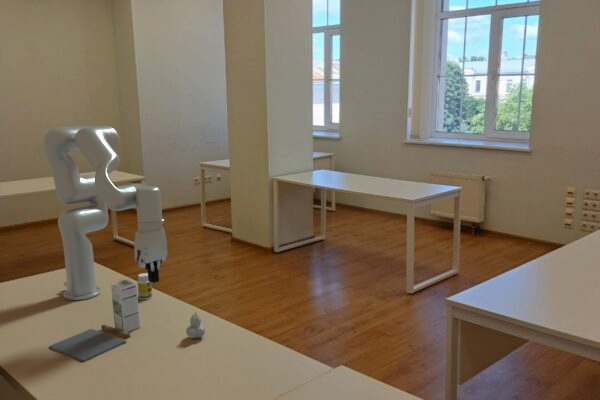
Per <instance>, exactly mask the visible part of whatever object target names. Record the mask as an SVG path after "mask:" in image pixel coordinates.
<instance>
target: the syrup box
mask: <svg viewBox="0 0 600 400" xmlns="http://www.w3.org/2000/svg"><path fill="white" fill-rule="evenodd" d="M110 289H111V299H112V309H113V310H112V311H113V312H112V313H113V320H114V328H116V329H119V330H122V331H125V332H128V333H130V332H132V331H135V330H137V329H140V328H141V324H140V323H141V322H140V311H139V310H140V309H139V301H138V300H139V297H138V284H137V283H136V282H134V281H131V280H129V279H123V280H119V281H116V282H113V283H111V284H110Z"/></svg>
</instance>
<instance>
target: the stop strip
mask: <svg viewBox="0 0 600 400" xmlns="http://www.w3.org/2000/svg"><path fill="white" fill-rule="evenodd" d="M101 330H103V331H106V332H109V333H111V334H114V335H117V336H120V337H123V338H126V339H129V338H131V333H130V332H125V331H122V330H119V329H116V328H115V327H113V326H109V325H107V324H102V325H101Z"/></svg>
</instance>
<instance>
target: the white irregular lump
mask: <svg viewBox="0 0 600 400" xmlns="http://www.w3.org/2000/svg"><path fill="white" fill-rule="evenodd" d="M189 321H190V322H189V324H190V325H188V326H187V328H186V329H185V332H186V335H187V336H189V338H190V339H200V338H202V337H203V336H205V332H206V328H205V327H204V324H202V318H201V317H200V316H199V315H198V314H197V311H195V312H194V314H192V315H191V317H190V319H189Z"/></svg>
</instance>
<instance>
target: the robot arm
mask: <svg viewBox="0 0 600 400" xmlns="http://www.w3.org/2000/svg"><path fill="white" fill-rule="evenodd" d="M42 145H43V150H44V154H45V157H46V159H47V161H48V163H49V166H50V168H51V174H52V178H53V184H54V187H55V192H56V193H55V194H56V197H57V199H58V201H59V203H61V205H65V206H71V205H77V204H83V203H85V204H86V205H85V206H79V207H73V208H68V209H66V210H64V211H63V212H61V213H60V214H59V216H58V218H57V225H58V229H59V232H60V236H61V239H62V246H63V247H62V248H63V254H64V264H65V275H66V277H65V278H66V281H64V283H63V286H65V287H66V290H65V291H64V292H63V293H62V294H63V298H64V299H66V300H69V301H70V300H71V301H80V300H81V301H82V300H88V299H91V298H94V297H97V296H98V295H100V294H101V291H102V288H101V287H99V286H97V283H96V282H97V281H96V273H95V262H94V261H95V259H94V250H93V247H94V246H93V245H92V242H91V241H90V239H89V238H88V236H87V235H86V234H89V233H93V232H96V231H100V230H103V229H105V228H106V227H107V225H108V224H109V211H108V209H110V210H112V211H115V212H120V211H125V210H129V209H135V208H136V217H137V231H136V232H135V235H134V236H135V237H134V252H133V253H134V261H135V262H136V263H138V264H137V267H138V268H141V269H145V271H147V273H148V281H149V282H151V283H153V284H156V283H159V282H160V274H159V273H160V272H159V270H160V269H161V265H162V263H163V262H165V261H166V260H167V257H168V243H167V241H168V240H167V236H166V232H165V228H164V227H163V224H164V223H165V219H163V211H162V209H163V208H162V197H161V195H162V193H161V189H160V188H159V187H158V186H153V185H152V186H151V185H146V184H143V183H131V184H124V185H119V186H115V184H114V183H112V181H111V180H110V178H109V176H108V175H110V174H111V173H112V172H114V171H115V170H116V169H117V168H118V166H119V165H120V161H121V159H120V157H119V155H118V154H117V153H116V151H115V150H116V149H117V148H118V146H119V145H120V136H119V134H118V132H117V131H116V129H115V128H113V127H112V126H110V125H75V126H61V127H60V126H59V127H55V128H51V129H49V130H47V131H46V133H45V135H44V136H43V141H42ZM79 151H80V152H81V153H82V154H83V155H84V157H85V159H87V161H88V162H89V164H90V165H91V166H92V168H93V169H94V170H95V174H94V175H92V174H85V175H80V171H79V167H78V164H77V161H76V159H74V158H73V156H72V155H70V154H69V153H68V152H70V153H71V152H79Z"/></svg>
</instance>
